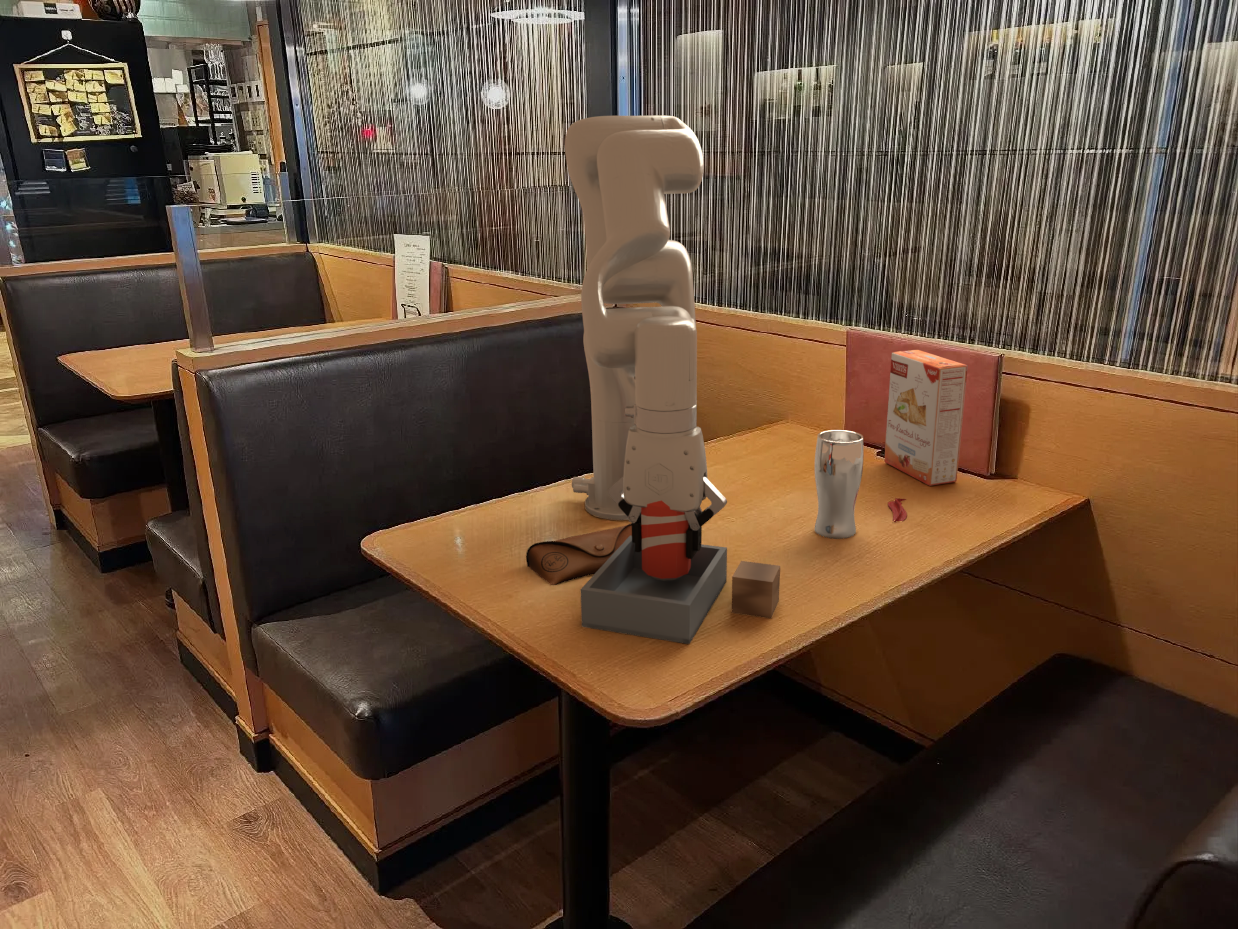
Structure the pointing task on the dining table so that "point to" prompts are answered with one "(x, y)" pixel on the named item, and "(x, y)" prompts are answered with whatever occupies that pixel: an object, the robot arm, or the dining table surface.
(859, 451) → the beer glass
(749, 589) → the walnut cube
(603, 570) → the tote
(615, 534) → the sunglasses case
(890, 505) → the cayenne pepper
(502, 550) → the dining table surface
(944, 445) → the cracker box
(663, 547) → the beverage can
